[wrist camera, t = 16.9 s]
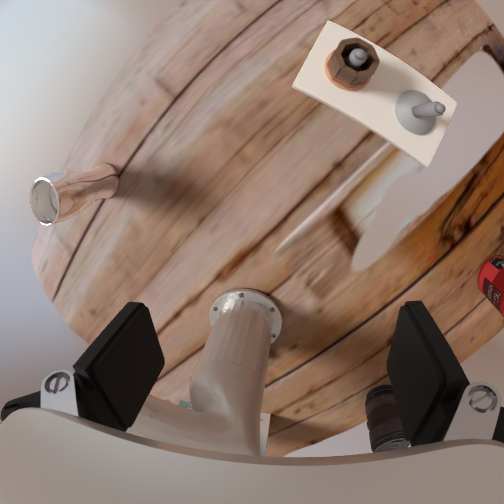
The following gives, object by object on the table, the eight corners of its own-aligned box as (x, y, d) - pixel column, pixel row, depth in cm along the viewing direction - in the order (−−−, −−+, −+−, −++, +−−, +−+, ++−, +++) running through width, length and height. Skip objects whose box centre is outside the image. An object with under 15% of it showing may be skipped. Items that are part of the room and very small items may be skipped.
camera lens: (392, 403, 53) (403, 454, 40) (359, 406, 55) (367, 460, 41) (402, 380, 50) (418, 435, 37) (368, 383, 51) (378, 441, 38)
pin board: (452, 104, 30) (487, 99, 21) (423, 166, 35) (455, 175, 26) (326, 24, 29) (335, -5, 20) (292, 87, 34) (291, 72, 25)
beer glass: (103, 152, 41) (39, 165, 27) (128, 179, 42) (67, 201, 28) (84, 182, 43) (23, 203, 30) (107, 208, 45) (49, 238, 31)
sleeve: (374, 63, 29) (387, 52, 23) (358, 94, 31) (369, 87, 26) (337, 44, 29) (344, 28, 23) (321, 74, 31) (326, 63, 25)
